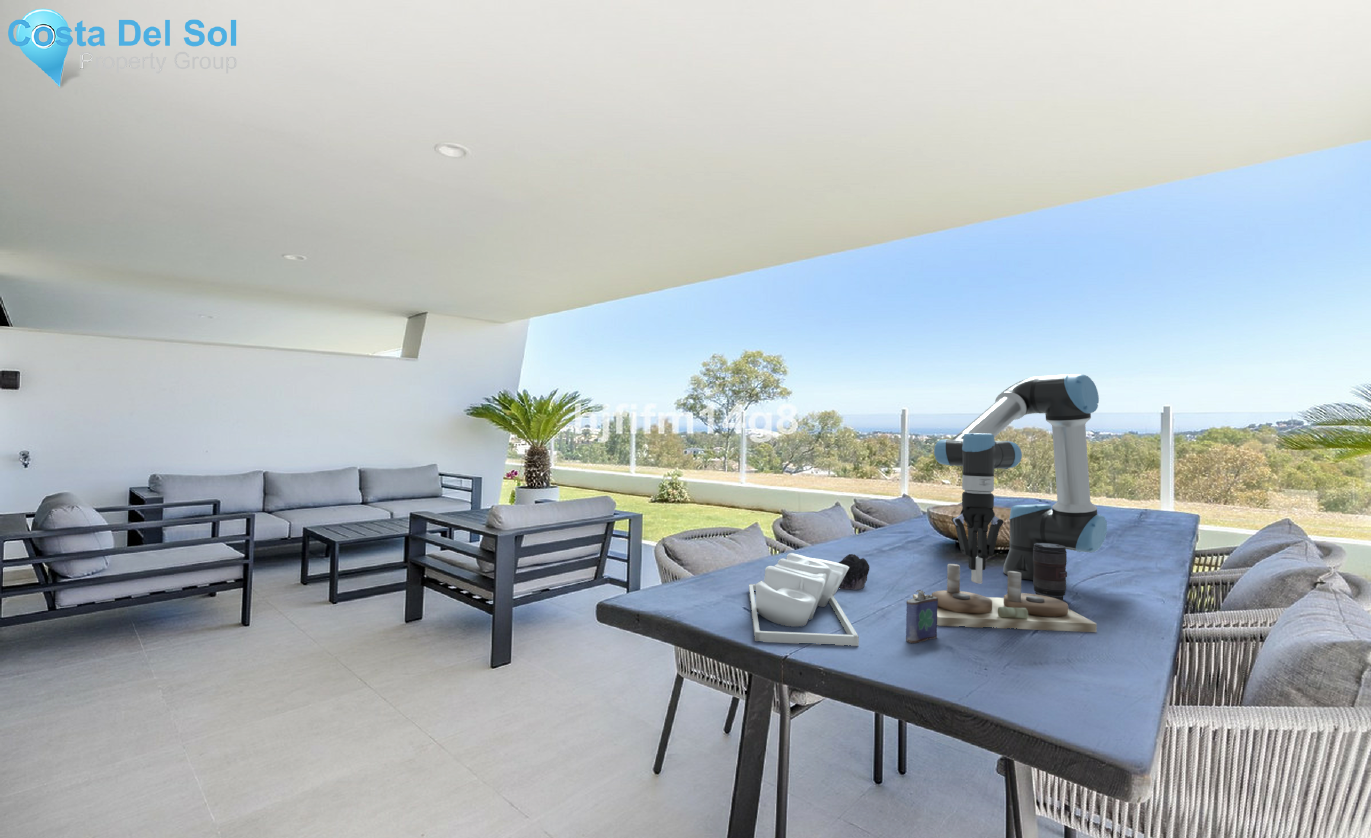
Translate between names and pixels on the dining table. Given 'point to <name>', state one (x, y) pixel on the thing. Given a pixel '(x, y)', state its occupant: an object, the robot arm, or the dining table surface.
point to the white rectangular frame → (805, 637)
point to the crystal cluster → (854, 572)
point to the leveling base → (1014, 619)
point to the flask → (921, 618)
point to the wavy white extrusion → (797, 588)
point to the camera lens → (1049, 570)
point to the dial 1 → (960, 595)
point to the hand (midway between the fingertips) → (976, 582)
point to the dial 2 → (1032, 599)
